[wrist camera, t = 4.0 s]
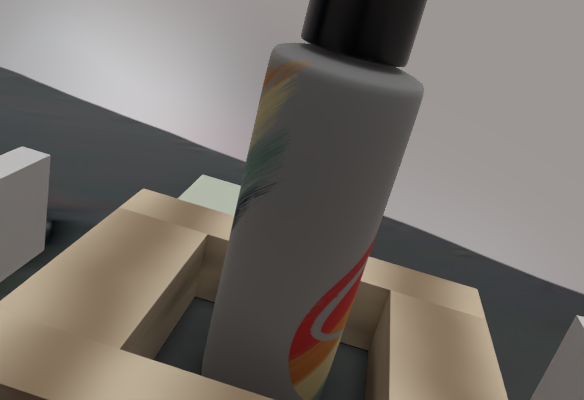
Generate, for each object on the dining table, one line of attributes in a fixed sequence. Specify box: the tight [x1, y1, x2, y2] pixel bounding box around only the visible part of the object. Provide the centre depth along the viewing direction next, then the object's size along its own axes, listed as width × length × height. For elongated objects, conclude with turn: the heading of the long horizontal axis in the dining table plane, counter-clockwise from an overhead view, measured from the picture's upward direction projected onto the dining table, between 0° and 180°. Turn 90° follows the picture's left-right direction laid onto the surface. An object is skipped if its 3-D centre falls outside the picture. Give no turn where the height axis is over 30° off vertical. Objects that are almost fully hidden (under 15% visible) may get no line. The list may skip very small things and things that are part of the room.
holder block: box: [0, 189, 508, 400], centre depth 24 cm, size 20×16×4 cm
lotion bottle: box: [201, 0, 427, 400], centre depth 21 cm, size 6×6×20 cm
